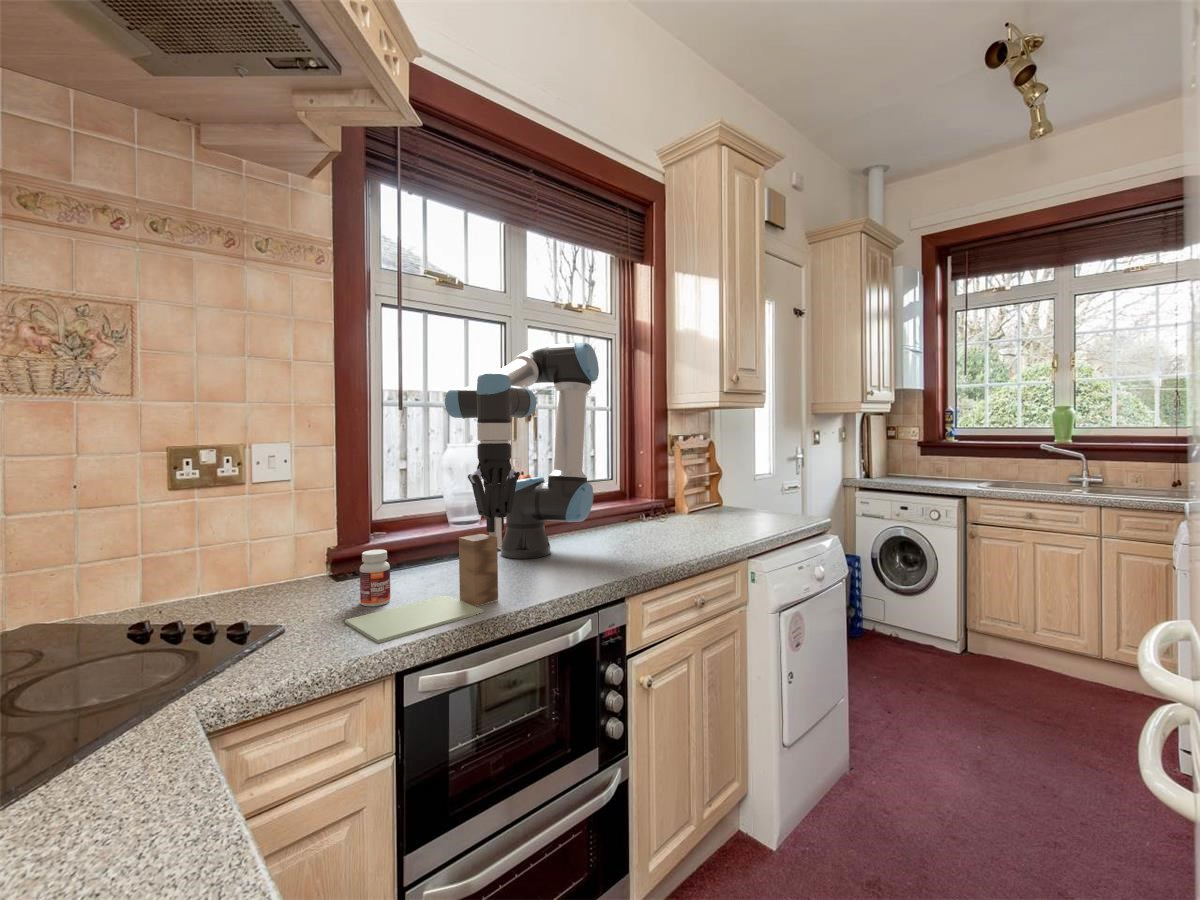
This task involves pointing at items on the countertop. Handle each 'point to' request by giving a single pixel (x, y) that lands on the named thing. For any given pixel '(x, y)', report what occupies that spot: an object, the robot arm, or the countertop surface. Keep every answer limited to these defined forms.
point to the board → (412, 618)
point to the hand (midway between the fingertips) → (495, 545)
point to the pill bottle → (374, 578)
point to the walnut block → (478, 569)
